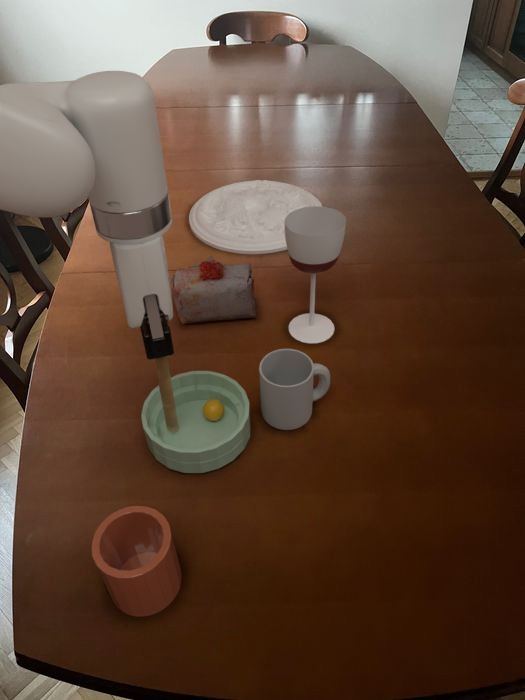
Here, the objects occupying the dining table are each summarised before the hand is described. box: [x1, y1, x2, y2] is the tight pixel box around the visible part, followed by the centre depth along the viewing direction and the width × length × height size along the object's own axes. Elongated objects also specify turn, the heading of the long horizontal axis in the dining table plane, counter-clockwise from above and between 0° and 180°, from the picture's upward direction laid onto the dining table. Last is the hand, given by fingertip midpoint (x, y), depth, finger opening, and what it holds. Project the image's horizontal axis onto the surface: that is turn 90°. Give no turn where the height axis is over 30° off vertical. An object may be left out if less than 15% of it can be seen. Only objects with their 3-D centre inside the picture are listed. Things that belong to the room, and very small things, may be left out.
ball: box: [203, 399, 224, 421], centre depth 82 cm, size 3×3×3 cm
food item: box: [170, 255, 258, 325], centre depth 97 cm, size 14×8×10 cm, turn 95°
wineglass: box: [285, 206, 347, 344], centre depth 90 cm, size 8×9×20 cm
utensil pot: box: [91, 505, 183, 618], centre depth 63 cm, size 8×8×9 cm
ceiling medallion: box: [188, 179, 324, 255], centre depth 122 cm, size 28×28×3 cm
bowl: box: [140, 370, 252, 474], centre depth 80 cm, size 14×14×5 cm
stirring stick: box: [147, 318, 179, 431], centre depth 73 cm, size 2×2×20 cm
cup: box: [258, 348, 331, 431], centre depth 81 cm, size 7×10×9 cm
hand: (158, 348), depth 70 cm, fingers closed on stirring stick, 1 cm apart
